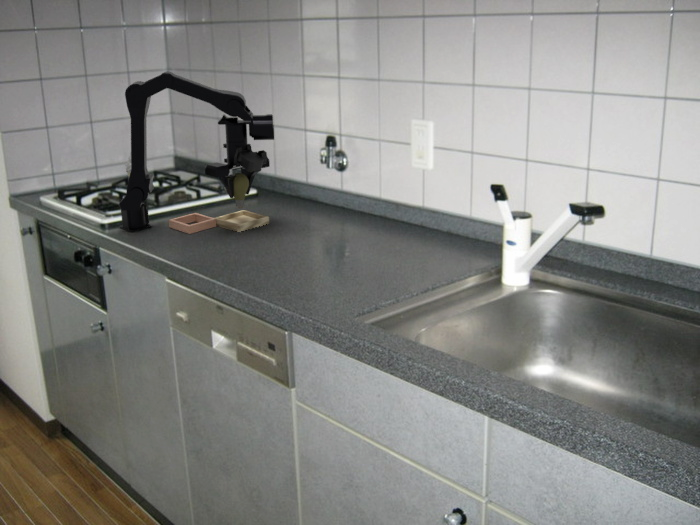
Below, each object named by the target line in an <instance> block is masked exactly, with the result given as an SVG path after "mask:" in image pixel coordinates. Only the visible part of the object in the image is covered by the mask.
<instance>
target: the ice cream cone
mask: <svg viewBox="0 0 700 525" xmlns="http://www.w3.org/2000/svg"><path fill="white" fill-rule="evenodd" d="M127 159H128V161H127V162H126V164H125V170H126V171H125V172H126V173H127V176H128V177H129V176H130V172H131V152H130V155H129V156H128V158H127Z"/></svg>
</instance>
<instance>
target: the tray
mask: <svg viewBox="0 0 700 525" xmlns="http://www.w3.org/2000/svg"><path fill="white" fill-rule="evenodd" d="M214 218H215V219H216V227H219V228H222V229H226V230H229V231H232V230H233V232H235V231H237V232H236V233H238V232H240V233H242V232H241V231H244V232H246V231H245V230H247V231H249V230H248V229H250V230H252V228H254V229H256V228H255V227H257V228H260V227H263V225H264V226H267V225H270V217H269V216H267V215H264V214H259V213H255V212H252V211H249V210H245V209H242V210H239V211H235V212H230V213H227V214H224V215H220V216H216V217H214ZM266 224H267V225H266ZM259 226H260V227H259Z"/></svg>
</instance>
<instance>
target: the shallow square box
mask: <svg viewBox="0 0 700 525" xmlns="http://www.w3.org/2000/svg"><path fill="white" fill-rule="evenodd" d="M215 218H216V217H212V216H211V217H210V216H209V215H208V216H207V215H204V214H201V213H198V212H194V213H190V214H186V215H182V216H179V217H175V218H171V219H168V225H169V228H170V229H173V230H176V231H180V232H183V233H185V234H188V235H191V234H194V233H197V232H202V231H205V230H208V229H211V228H215V227H217V226H216V219H215ZM195 222H196V223H195ZM190 223H192V224H190Z"/></svg>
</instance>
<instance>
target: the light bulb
mask: <svg viewBox="0 0 700 525" xmlns="http://www.w3.org/2000/svg"><path fill="white" fill-rule="evenodd" d="M232 174H233V173H232ZM233 175H236V177H235V178H234V180H233V185H234V198H233V199H234V200H235V207H237V209H243V207H245V199H246V195H247V194H246V192H247V190H248V187H249V180H248V178H247V177H246V176H245V175H244V174H242V173H241V172H236V173H234V174H233Z"/></svg>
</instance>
